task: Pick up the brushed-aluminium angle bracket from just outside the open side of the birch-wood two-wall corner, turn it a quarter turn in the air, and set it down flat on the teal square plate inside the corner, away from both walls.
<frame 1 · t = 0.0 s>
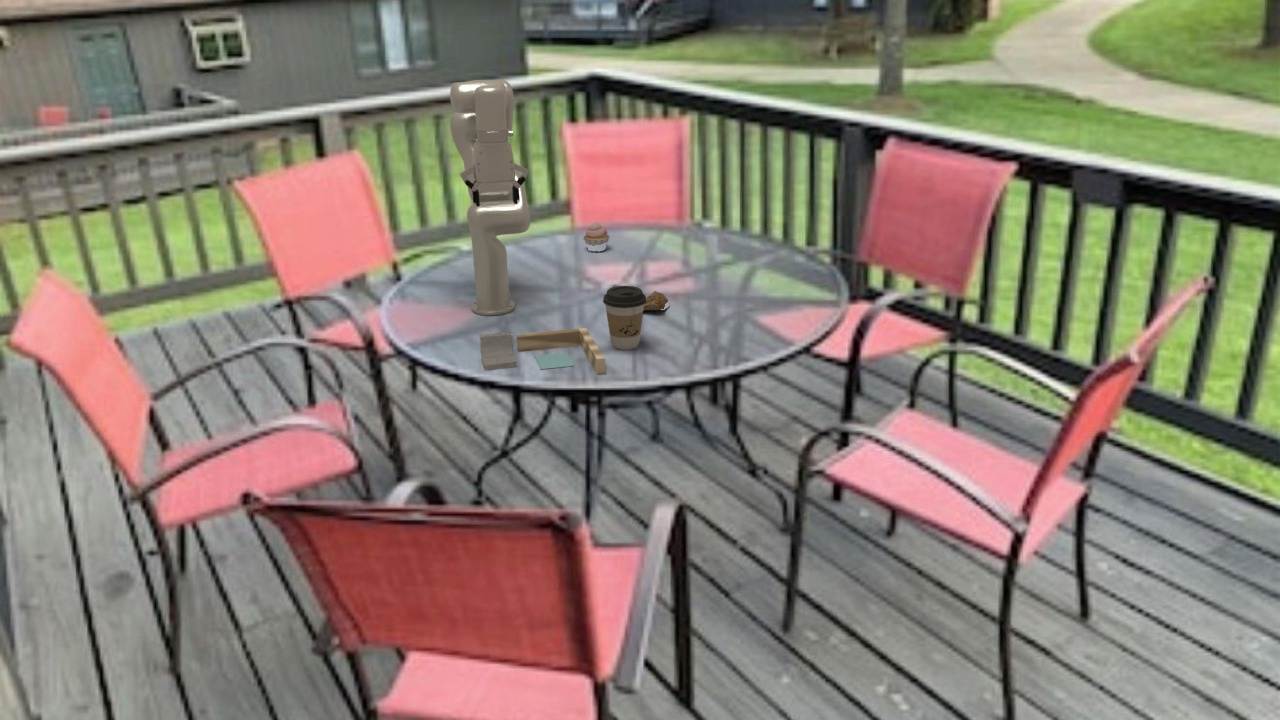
hand: (496, 204, 255), 37 cm above the table, tool pointing down, fingers open, 9 cm apart
teal square plate: (540, 356, 256), on the table
coffee cup: (625, 345, 264), on the table
bracket: (513, 358, 255), on the table
wooden l-shaped piece: (559, 360, 254), on the table
cupcake: (596, 250, 345), on the table
pie slice: (652, 309, 290), on the table
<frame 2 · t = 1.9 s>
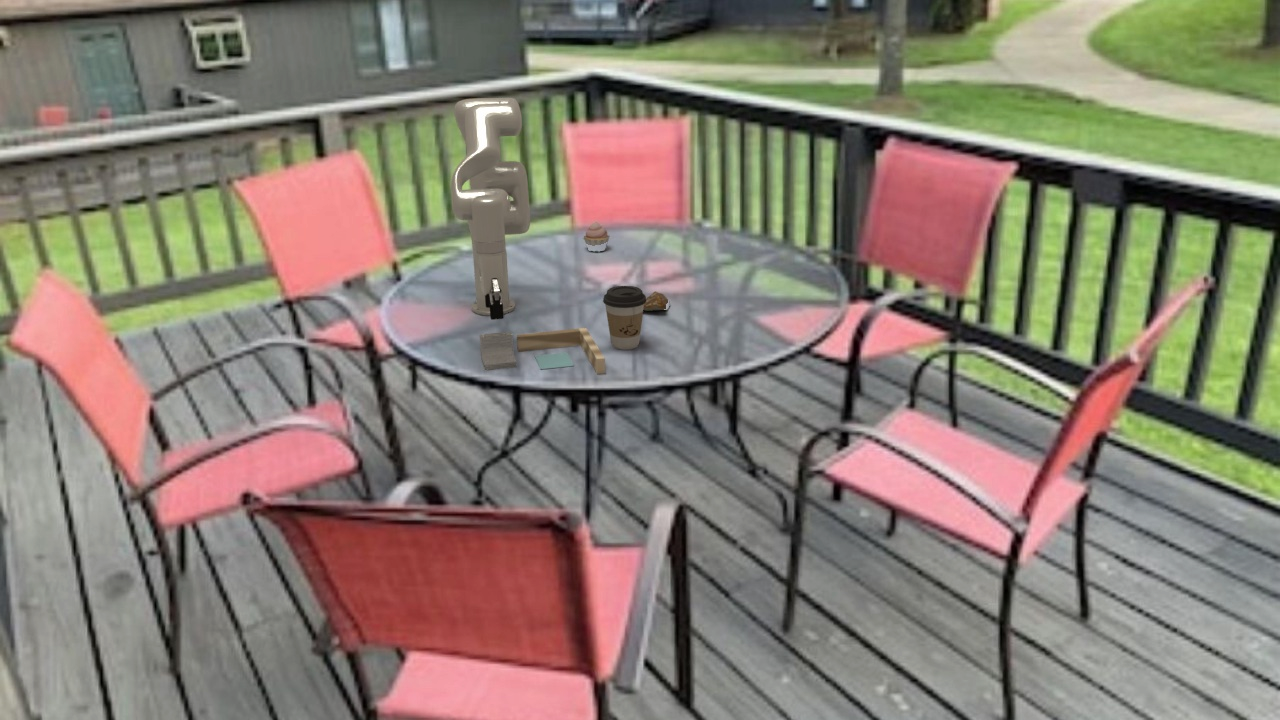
hand: (494, 312, 249), 13 cm above the table, tool pointing down, fingers open, 9 cm apart
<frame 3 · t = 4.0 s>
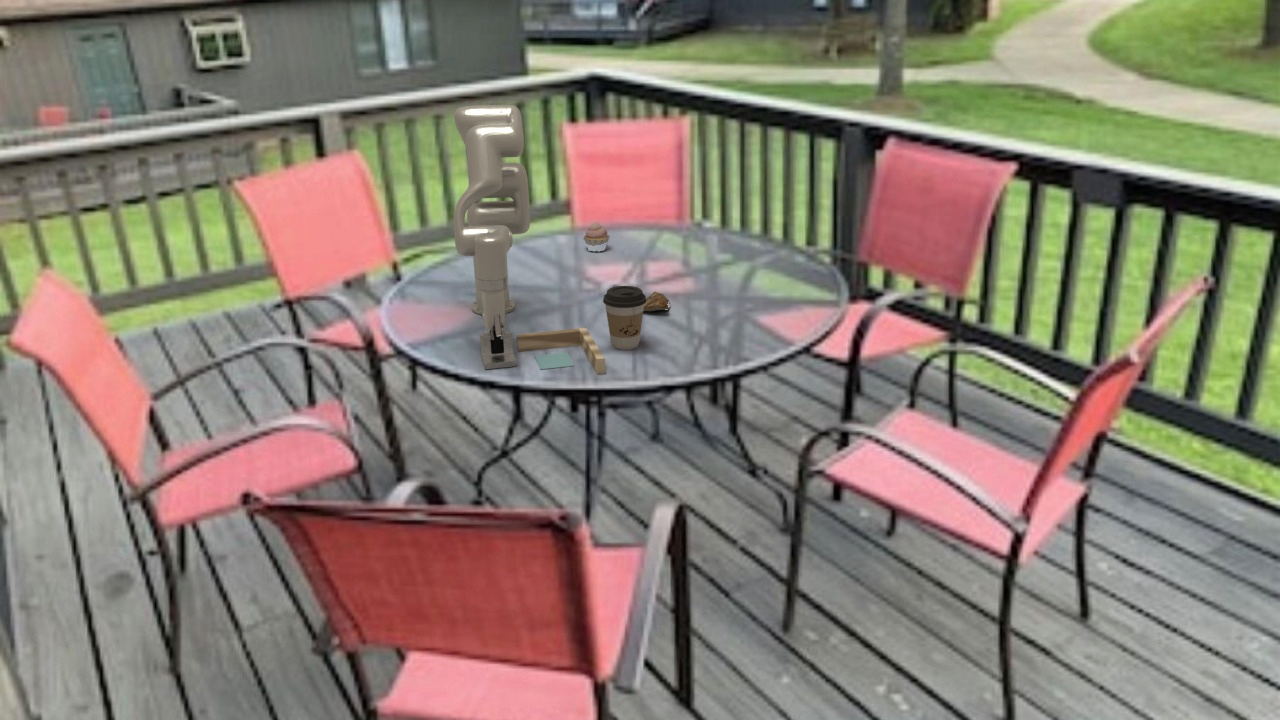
hand: (497, 350, 254), 2 cm above the table, tool pointing down, fingers closed on bracket
bracket: (513, 356, 255), on the table, touching gripper
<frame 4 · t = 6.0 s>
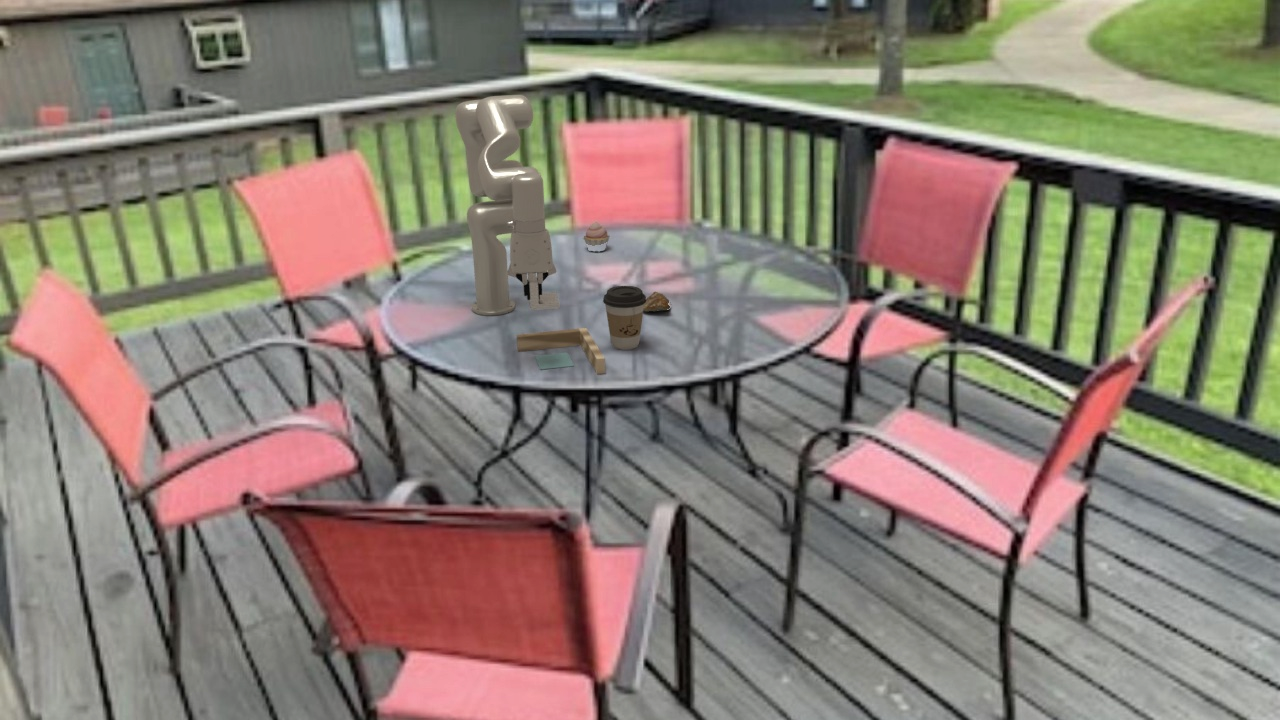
hand: (533, 297, 246), 17 cm above the table, tool pointing down, fingers closed on bracket
bracket: (532, 299, 251), point 16 cm above the table, touching gripper
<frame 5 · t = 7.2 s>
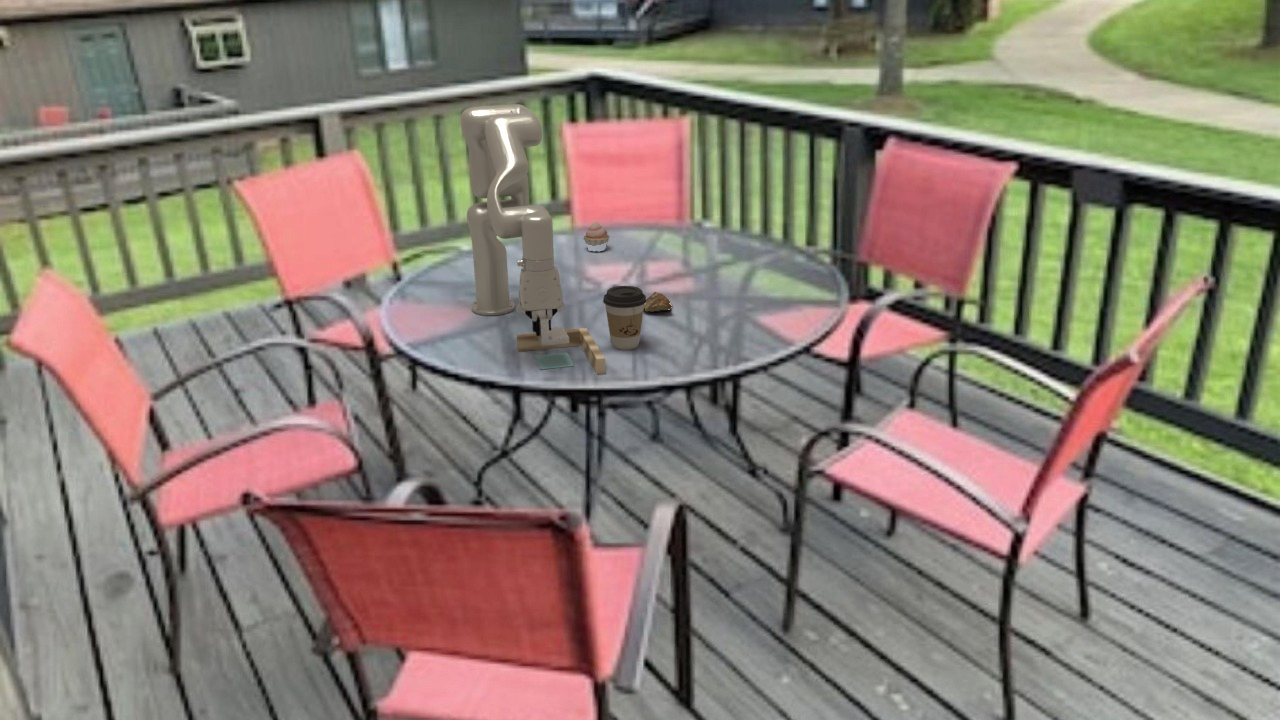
hand: (542, 333, 250), 8 cm above the table, tool pointing down, fingers closed on bracket
bracket: (540, 334, 254), point 6 cm above the table, touching gripper
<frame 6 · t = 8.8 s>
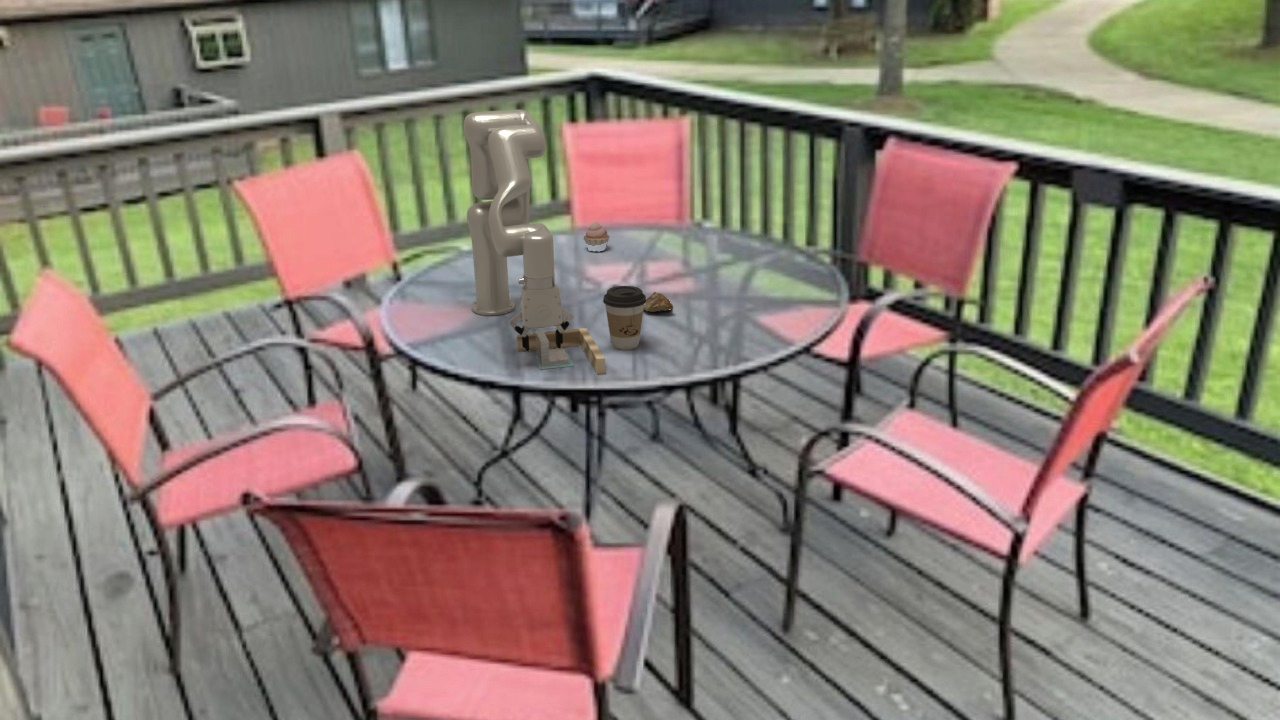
hand: (542, 347, 251), 4 cm above the table, tool pointing down, fingers open, 7 cm apart
bracket: (540, 355, 256), resting on teal square plate
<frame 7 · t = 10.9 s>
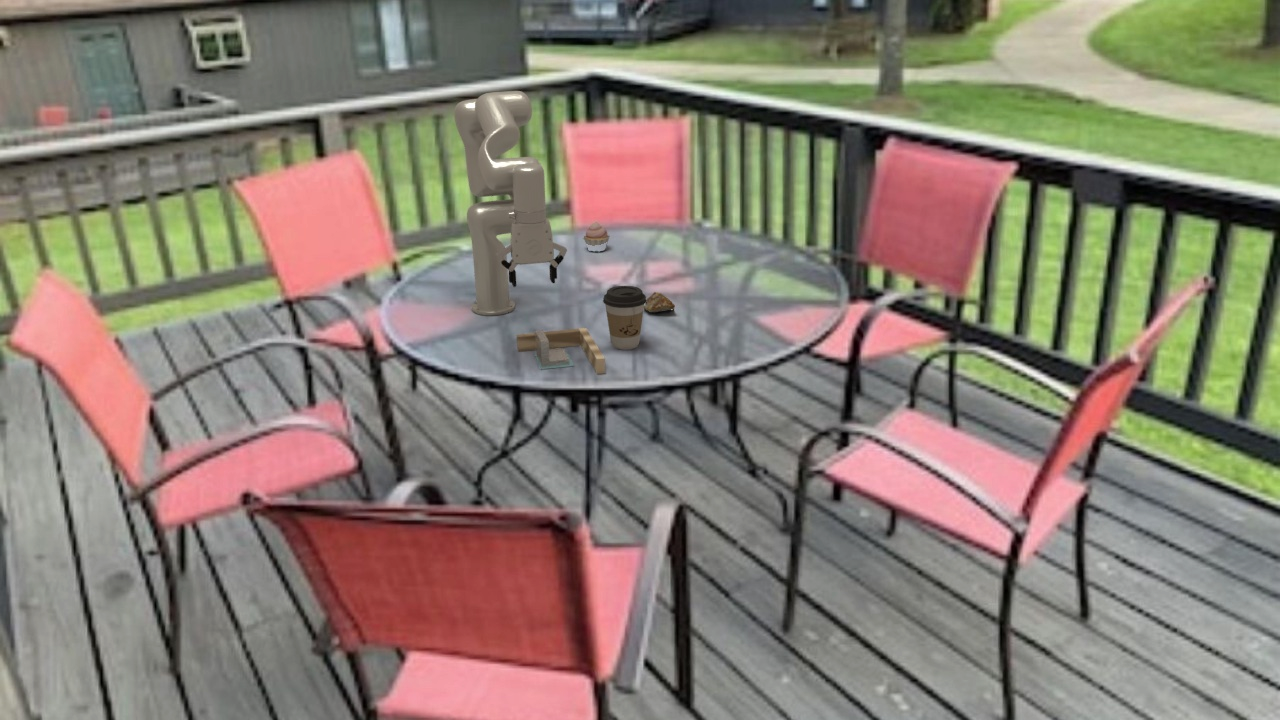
hand: (533, 283, 246), 21 cm above the table, tool pointing down, fingers open, 9 cm apart
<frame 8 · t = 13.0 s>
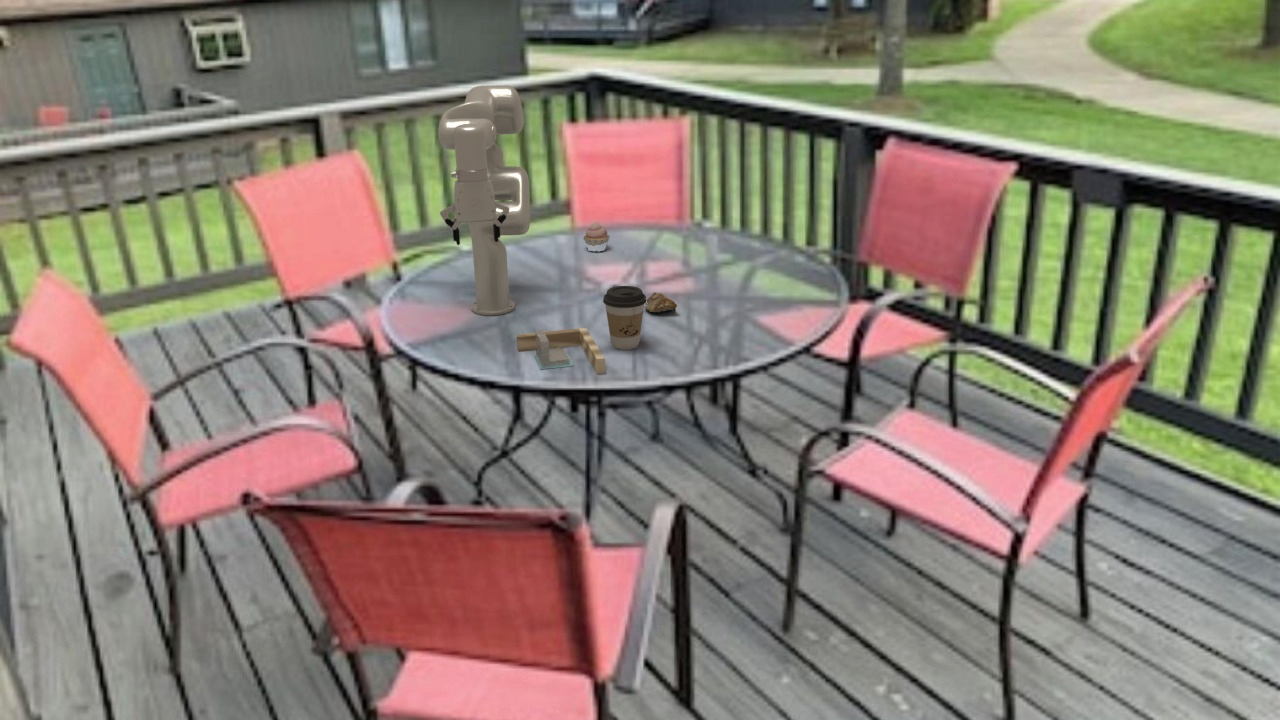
hand: (477, 242, 253), 28 cm above the table, tool pointing down, fingers open, 9 cm apart
at the end: bracket 0.2 cm off-centre on the teal square plate, point 0.2 cm above the teal square plate's base; bracket touching teal square plate; bracket tilted 0° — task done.
